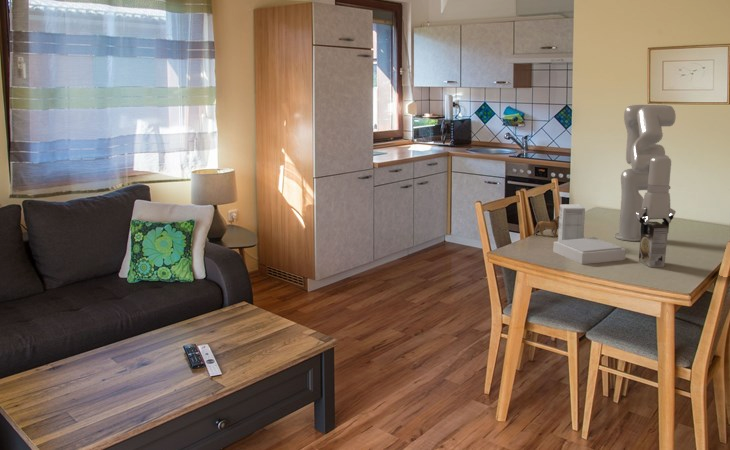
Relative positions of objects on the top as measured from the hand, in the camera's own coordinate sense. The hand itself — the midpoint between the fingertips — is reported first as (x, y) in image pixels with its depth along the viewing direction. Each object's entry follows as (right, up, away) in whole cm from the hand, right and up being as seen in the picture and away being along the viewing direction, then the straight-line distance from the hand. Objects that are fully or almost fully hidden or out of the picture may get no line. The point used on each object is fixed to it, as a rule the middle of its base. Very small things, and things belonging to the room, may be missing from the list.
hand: (654, 233), depth 256 cm
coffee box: (0, -12, +3) cm, 13 cm away
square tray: (-20, -9, +15) cm, 27 cm away
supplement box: (-22, -5, +36) cm, 42 cm away
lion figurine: (-27, -2, +52) cm, 58 cm away
